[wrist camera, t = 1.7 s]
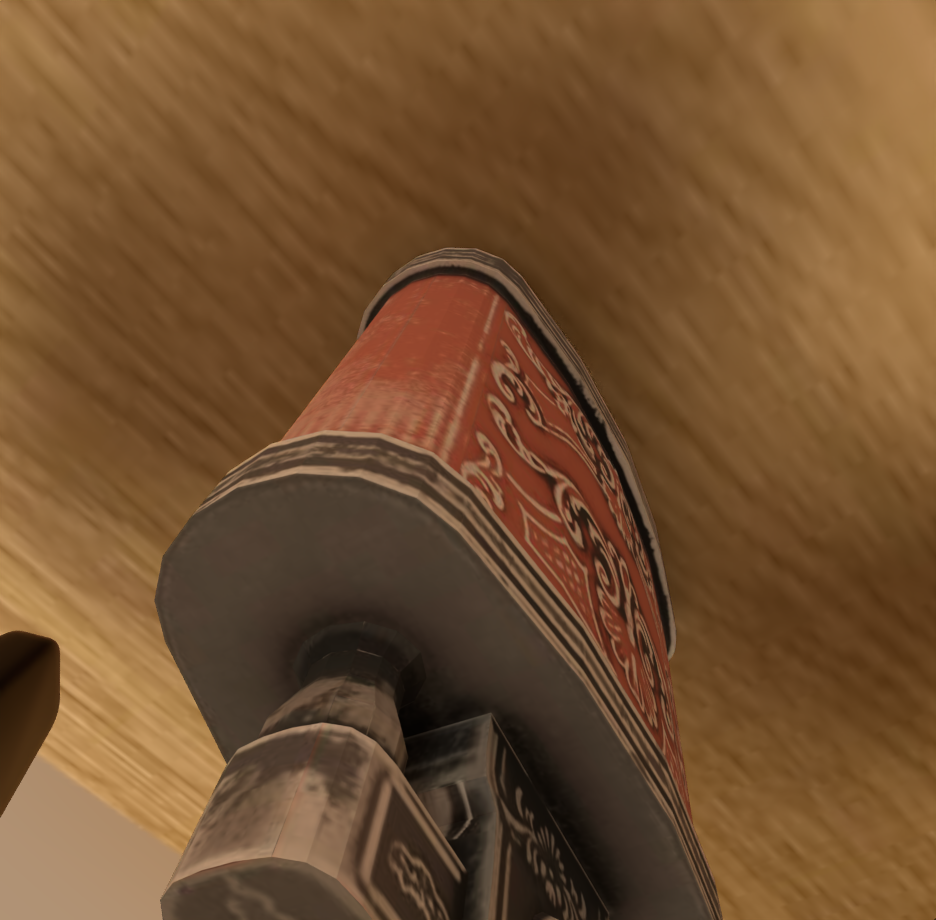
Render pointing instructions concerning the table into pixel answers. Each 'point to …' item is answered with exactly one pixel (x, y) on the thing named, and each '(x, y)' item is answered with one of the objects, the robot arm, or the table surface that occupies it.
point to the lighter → (436, 638)
